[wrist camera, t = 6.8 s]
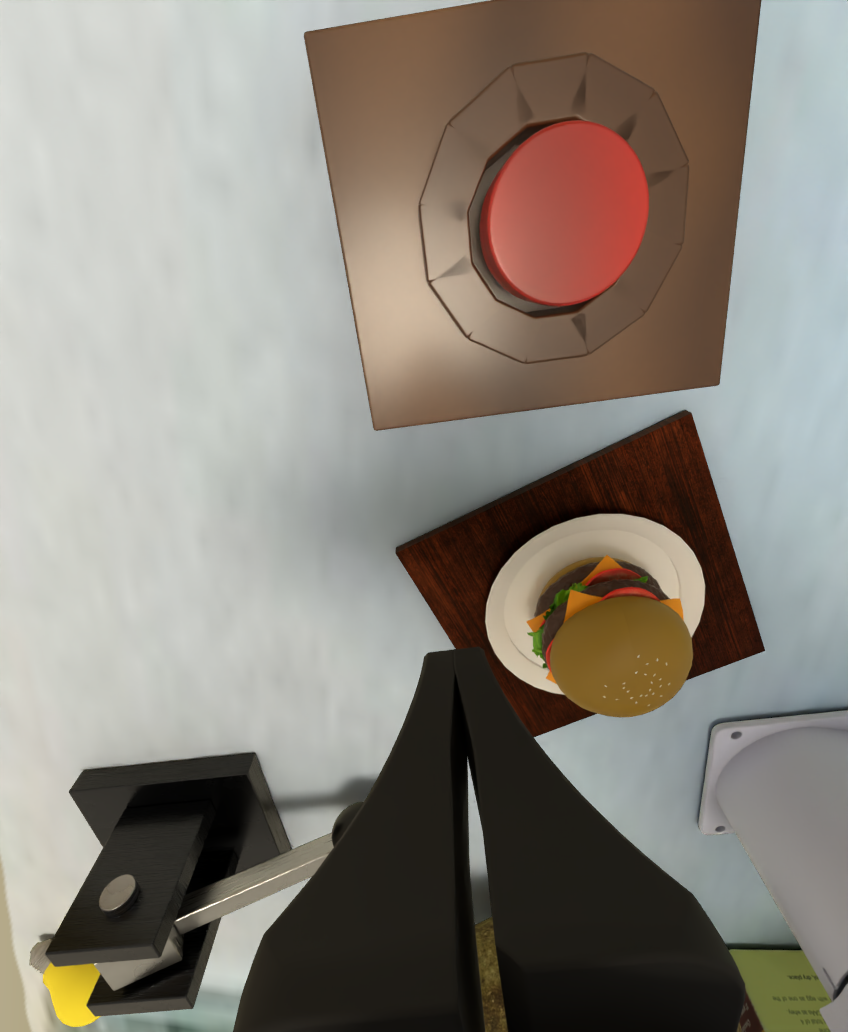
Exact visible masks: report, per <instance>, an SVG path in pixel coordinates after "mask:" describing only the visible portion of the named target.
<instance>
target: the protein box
mask: <svg viewBox="0 0 848 1032" xmlns="http://www.w3.org/2000/svg"><path fill="white" fill-rule="evenodd" d="M729 952H730V954H731V955H732V957H733V959H734V961H735V963H736V965H737V967H738V969H739V972H740V974H741V976H742V978H743V981H744V983H745V1001H744V1005H743V1009H742V1013H741V1017H740V1021H739V1023H740V1026H741V1030H742V1032H831V1031H830V1030H829V1028H828V1026H827V1024H826V1022H825V1020H824V1019H823V1017H822V1015H821V1013H820V1008H822V1007H824V1006H826V1005H828V1004H829V1003H831V1002H832V1001H831V999H830V997H829V996H828V994H827V992H826V990H825V989H824V987H823V985H822V983H821V982H820V980H819V978H818V976H817V975H816V973H815V971H814V969H813V968H812V966H811V964H810V962H809V961H808V959H807V957H806V955H805V954H804V952H803V950H736V949H731V950H729Z"/></svg>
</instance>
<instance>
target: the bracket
mask: <svg viewBox="0 0 848 1032" xmlns="http://www.w3.org/2000/svg"><path fill="white" fill-rule="evenodd" d="M69 793H70V795H71V797H72V798H73V800H74V801H75V803H76V805H77V806H78V808H79V809H80V811H81V813H82V814H83V816H84V817H85V819H86V821H87V822H88V824H89V825H90V827H91V829H92V830H93V832H94V833H95V835H96V837H97V838H98V840H99V841H100V843H101V845H102V846H103V849H102V851H101V853H100V855H99V857H98V858H97V860H96V862H95V864H94V866H93V867H92V869H91V871H90V873H89V875H88V876H87V878H86V880H85V882H84V884H83V885H82V887H81V889H80V891H79V893H78V894H77V896H76V898H75V900H74V902H73V903H72V905H71V907H70V909H69V911H68V912H67V914H66V916H65V918H64V920H63V921H62V923H61V925H60V927H59V929H58V930H57V932H56V934H55V936H54V938H53V939H52V941H51V943H50V945H49V947H48V948H47V950H46V952H45V955H46V957H47V958H48V959H49V960H50V962H51V963H52V964H53V965H54V966H55V967H61V966H72V965H84V964H96V963H107V962H119V961H131V960H142V959H154V958H160V957H161V956H162V953H163V950H164V948H165V945H166V943H167V940H168V937H169V935H170V932H171V929H172V927H173V924H174V921H175V919H176V916H177V914H178V911H179V908H180V906H181V903H182V900H183V898H184V895H187V894H189V893H191V892H194V891H196V890H198V889H201V888H203V887H205V886H208V885H210V884H212V883H215V882H217V881H219V880H222V879H224V878H226V877H229V876H231V875H233V874H236V873H238V872H240V871H243V870H245V869H248V868H250V867H252V866H255V865H257V864H259V863H262V862H264V861H266V860H269V859H271V858H273V857H276V856H278V855H280V854H283V853H285V852H287V851H290V850H291V847H290V845H289V842H288V840H287V837H286V834H285V832H284V829H283V826H282V824H281V821H280V819H279V816H278V813H277V811H276V808H275V805H274V803H273V800H272V798H271V795H270V792H269V790H268V787H267V784H266V782H265V779H264V777H263V774H262V771H261V769H260V766H259V764H258V761H257V758H256V756H255V754H254V753H252V754H242V755H233V756H223V757H213V758H204V759H194V760H185V761H175V762H165V763H156V764H146V765H137V766H127V767H117V768H108V769H98V770H89V771H83V772H82V773H81V774H80V776H79V777H78V779H77V780H76V782H75V783H74V785H73V786H72V788H71V789H70V790H69ZM220 920H221V917H220V918H218V919H215V920H213V921H211V922H209V923H206V924H204V925H202V926H200V927H198V928H195V929H193V930H191V931H189V932H186V933H184V944H183V958H182V960H181V961H179V962H177V963H174V964H172V965H170V966H168V967H166V968H164V969H161V970H159V971H157V972H155V973H153V974H150V975H148V976H146V977H144V978H142V979H140V980H137V981H135V982H133V983H131V984H129V985H126V986H124V987H122V988H120V989H118V990H115V991H113V990H112V989H111V987H110V986H109V985H108V983H107V982H106V981H105V979H104V978H103V977H102V975H101V974H100V976H99V978H98V980H97V982H96V984H95V987H94V989H93V991H92V993H91V995H90V998H89V1000H88V1002H87V1004H86V1006H87V1007H88V1009H89V1010H90V1011H91V1012H92V1014H93V1015H94V1016H95V1017H96V1016H108V1015H121V1014H133V1013H145V1012H158V1011H170V1010H182V1009H192V1008H193V1007H194V1004H195V1001H196V998H197V995H198V991H199V988H200V985H201V982H202V978H203V975H204V972H205V969H206V966H207V962H208V959H209V956H210V953H211V949H212V946H213V943H214V940H215V936H216V933H217V930H218V927H219V923H220Z"/></svg>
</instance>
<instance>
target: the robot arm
mask: <svg viewBox="0 0 848 1032" xmlns="http://www.w3.org/2000/svg"><path fill="white" fill-rule="evenodd" d="M467 756H468V761H469V766H470V771H471V776H472V781H473V786H474V791H475V796H476V800H477V805H478V810H479V815H480V820H481V825H482V830H483V837H484V846H485V855H486V864H487V873H488V882H489V892H490V901H491V910H492V919H493V928H494V938H495V947H496V953H497V960H498V967H499V974H500V980H501V987H502V994H503V1001H504V1008H505V1014H506V1021H507V1029H508V1032H737V1029H738V1025H739V1021H740V1017H741V1013H742V1009H743V1005H744V1001H745V983H744V981H743V978H742V976H741V974H740V972H739V969H738V967H737V965H736V963H735V961H734V959H733V957H732V955H731V954H730V952H729V950H728V948H727V947H726V945H725V943H724V941H723V940H722V938H721V936H720V935H719V933H718V931H717V930H716V928H715V927H714V925H713V924H712V922H711V920H710V919H709V917H708V916H707V914H706V913H705V911H704V910H703V908H702V907H701V906H700V904H699V903H698V901H697V900H696V898H695V897H694V896H693V894H692V893H691V892H689V891H688V890H687V889H686V888H684V887H683V886H682V885H681V884H679V883H678V882H677V881H676V880H674V879H673V878H672V877H671V876H669V875H668V874H667V873H666V872H664V871H663V870H662V869H661V868H660V867H659V866H657V865H656V864H655V863H654V862H653V861H651V860H650V859H649V858H648V857H647V856H645V855H644V854H643V853H642V852H641V851H640V850H639V849H638V848H636V847H635V846H634V845H633V844H632V843H631V842H630V841H629V840H628V839H626V838H625V837H624V836H623V835H622V834H621V833H620V832H619V831H618V830H617V829H616V828H615V827H614V826H613V825H612V824H611V823H610V822H608V821H607V820H606V819H605V818H604V817H603V816H602V815H601V814H600V813H599V812H598V811H597V810H596V809H595V808H594V807H593V806H592V805H591V804H590V803H589V802H588V801H587V800H586V799H585V798H584V797H583V796H582V795H581V794H580V792H579V791H578V790H577V789H576V788H575V787H574V786H573V785H572V784H571V783H570V781H569V780H568V779H567V778H566V777H565V776H564V775H563V774H562V772H561V771H560V770H559V769H558V768H557V767H556V765H555V764H554V763H553V762H552V761H551V759H550V758H549V757H548V756H547V754H546V753H545V752H544V751H543V749H542V748H541V747H540V745H539V744H538V743H537V742H536V740H535V739H534V737H533V736H532V735H531V733H530V732H529V731H528V729H527V728H526V727H525V725H524V724H523V722H522V721H521V719H520V718H519V716H518V715H517V713H516V712H515V710H514V708H513V707H512V705H511V704H510V702H509V701H508V699H507V697H506V696H505V694H504V692H503V691H502V689H501V687H500V685H499V684H498V682H497V680H496V678H495V676H494V674H493V672H492V670H491V668H490V666H489V663H488V661H487V658H486V656H485V653H484V650H483V649H481V648H480V647H472V648H464V649H455V650H447V651H438V652H430V653H427V654H426V656H425V657H424V661H423V666H422V670H421V675H420V678H419V682H418V685H417V688H416V691H415V694H414V697H413V700H412V703H411V705H410V708H409V711H408V713H407V716H406V719H405V721H404V724H403V726H402V728H401V731H400V733H399V735H398V737H397V740H396V742H395V744H394V746H393V748H392V751H391V753H390V755H389V757H388V759H387V761H386V763H385V765H384V767H383V769H382V771H381V773H380V774H379V776H378V778H377V780H376V782H375V784H374V785H373V787H372V789H371V791H370V792H369V794H368V796H367V798H366V799H365V801H364V802H363V804H362V806H361V807H360V809H359V810H358V812H357V814H356V815H355V817H354V819H353V820H352V822H351V823H350V825H349V826H348V828H347V829H346V831H345V832H344V834H343V835H342V837H341V838H340V840H339V841H338V842H337V844H336V845H335V846H334V848H333V849H332V850H331V852H330V853H329V855H328V856H327V857H326V859H325V860H324V861H323V863H322V864H321V865H320V867H319V868H318V869H317V871H316V872H315V874H314V875H313V876H312V878H311V879H310V880H309V881H308V883H307V884H306V885H305V886H304V888H303V889H302V890H301V891H300V892H299V894H298V895H297V896H296V897H295V898H294V899H293V901H292V902H291V903H290V904H289V905H288V907H287V908H286V909H285V910H284V911H283V912H282V914H281V915H280V916H279V917H278V918H277V920H276V921H275V922H274V923H273V924H272V925H271V927H270V928H269V929H268V930H267V931H266V932H265V934H264V935H263V938H262V940H261V942H260V945H259V947H258V950H257V953H256V955H255V958H254V960H253V963H252V966H251V969H250V972H249V975H248V978H247V981H246V983H245V986H244V989H243V993H242V996H241V1000H240V1004H239V1008H238V1013H237V1017H236V1021H235V1025H234V1030H233V1032H485V1022H484V1012H483V1002H482V992H481V982H480V972H479V962H478V952H477V942H476V932H475V922H474V911H473V901H472V891H471V880H470V865H469V827H468V766H467ZM698 827H699V829H700V831H701V832H702V833H703V834H705V835H718V834H729V833H736V835H737V837H738V838H739V840H740V842H741V844H742V845H743V847H744V849H745V851H746V852H747V854H748V856H749V858H750V859H751V861H752V863H753V865H754V866H755V868H756V870H757V872H758V873H759V875H760V877H761V879H762V880H763V882H764V884H765V886H766V887H767V889H768V891H769V893H770V894H771V896H772V898H773V900H774V901H775V903H776V905H777V907H778V908H779V910H780V912H781V914H782V915H783V917H784V919H785V921H786V922H787V924H788V926H789V928H790V929H791V931H792V933H793V934H794V936H795V938H796V940H797V941H798V943H799V945H800V947H801V948H802V950H803V952H804V954H805V955H806V957H807V959H808V961H809V962H810V964H811V966H812V968H813V969H814V971H815V973H816V975H817V976H818V978H819V980H820V982H821V983H822V985H823V987H824V989H825V990H826V992H827V994H828V996H829V997H830V999H831V1001H832V1002H831V1003H829V1004H828V1005H826V1006H824V1007H822V1008H820V1013H821V1015H822V1017H823V1019H824V1020H825V1022H826V1024H827V1026H828V1028H829V1030H830V1031H831V1032H848V710H845V711H835V712H825V713H815V714H806V715H796V716H786V717H776V718H767V719H757V720H747V721H737V722H728V723H720V724H718V725H716V726H715V727H714V728H713V729H712V731H711V738H710V745H709V752H708V759H707V766H706V773H705V780H704V787H703V794H702V801H701V808H700V815H699V822H698Z"/></svg>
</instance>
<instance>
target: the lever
mask: <svg viewBox="0 0 848 1032" xmlns="http://www.w3.org/2000/svg"><path fill="white" fill-rule="evenodd" d="M362 804H363V802H358V803H354V804H352V805H350V806H348V807H347V808H346V809H344V810H343V811H342V812H341V814H340V815H339V816H338V818H337V819H336V821H335V823H334V826H333V829H332V833H329V834H327V835H325V836H322V837H320V838H318V839H315V840H313V841H311V842H308V843H306V844H304V845H301V846H299V847H297V848H294V849H292V850H290V851H287V852H285V853H283V854H280V855H278V856H276V857H273V858H271V859H269V860H266V861H264V862H262V863H259V864H257V865H255V866H252V867H250V868H248V869H245V870H243V871H240V872H238V873H236V874H233V875H231V876H229V877H226V878H224V879H222V880H219V881H217V882H215V883H212V884H210V885H208V886H205V887H203V888H201V889H198V890H196V891H194V892H191V893H189V894H187V895H184V898H183V900H182V903H181V906H180V908H179V911H178V914H177V916H176V919H175V921H174V924H173V927H172V929H171V932H170V935H169V937H168V940H167V943H166V945H165V948H164V950H163V953H162V956H161V957H160V958H154V959H142V960H131V961H119V962H107V963H96V964H94V966H95V967H96V969H97V970H98V971H99V973H100V974H101V975H102V977H103V978H104V979H105V981H106V982H107V983H108V985H109V986H110V987H111V989H112V990H113V991H115V990H118V989H120V988H122V987H124V986H126V985H129V984H131V983H133V982H135V981H137V980H140V979H142V978H144V977H146V976H148V975H150V974H153V973H155V972H157V971H159V970H161V969H164V968H166V967H168V966H170V965H172V964H174V963H177V962H179V961H181V960H182V958H183V944H184V933H186V932H189V931H191V930H193V929H195V928H198V927H200V926H202V925H204V924H206V923H209V922H211V921H213V920H215V919H218V918H220V917H222V916H224V915H227V914H229V913H231V912H233V911H236V910H238V909H240V908H242V907H245V906H247V905H249V904H251V903H254V902H256V901H258V900H260V899H263V898H265V897H267V896H269V895H272V894H274V893H276V892H278V891H281V890H283V889H285V888H287V887H290V886H292V885H294V884H296V883H299V882H301V881H303V880H305V879H308V878H310V877H312V876H313V875H314V874H315V872H316V871H317V869H318V868H319V867H320V865H321V864H322V863H323V861H324V860H325V859H326V857H327V856H328V855H329V853H330V852H331V850H332V849H333V848H334V846H335V845H336V844H337V842H338V841H339V840H340V838H341V837H342V835H343V834H344V832H345V831H346V829H347V828H348V826H349V825H350V823H351V822H352V820H353V819H354V817H355V815H356V814H357V812H358V810H359V809H360V807H361V806H362Z"/></svg>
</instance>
